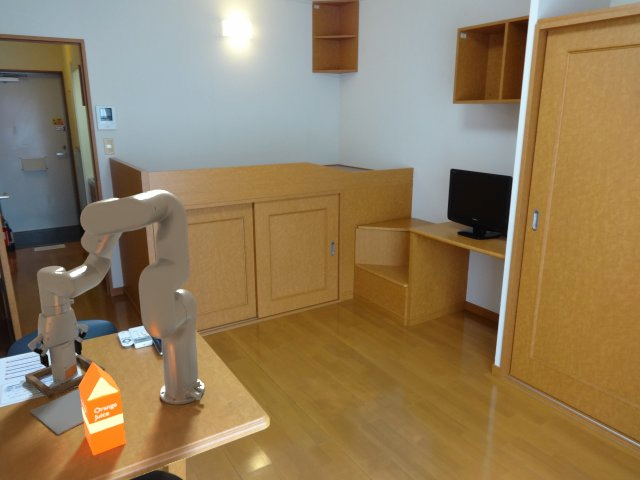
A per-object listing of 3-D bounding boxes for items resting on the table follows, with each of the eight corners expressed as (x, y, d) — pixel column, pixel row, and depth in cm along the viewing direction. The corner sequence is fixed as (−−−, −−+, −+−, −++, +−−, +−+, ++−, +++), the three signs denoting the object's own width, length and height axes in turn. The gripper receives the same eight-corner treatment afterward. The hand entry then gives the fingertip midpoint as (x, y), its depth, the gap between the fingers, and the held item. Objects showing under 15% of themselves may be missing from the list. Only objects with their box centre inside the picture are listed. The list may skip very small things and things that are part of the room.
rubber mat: (113, 407, 132) (113, 406, 132) (57, 435, 121) (57, 434, 121) (84, 387, 142) (84, 386, 142) (30, 411, 130) (29, 410, 130)
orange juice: (117, 425, 125) (109, 356, 120) (126, 443, 118) (118, 371, 113) (84, 436, 121) (75, 365, 115) (92, 456, 114) (82, 381, 109)
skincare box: (65, 383, 144) (60, 347, 141) (52, 381, 145) (47, 346, 141) (78, 373, 150) (74, 338, 146) (67, 371, 150) (62, 337, 147)
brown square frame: (105, 374, 149) (104, 368, 149) (48, 398, 136) (47, 392, 136) (81, 359, 158) (80, 353, 157) (25, 381, 145) (24, 375, 144)
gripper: (78, 296, 150) (84, 345, 154) (18, 313, 137) (26, 366, 141) (90, 302, 146) (96, 352, 150) (30, 320, 132) (37, 375, 137)
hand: (62, 359), depth 146 cm, fingers open, 9 cm apart
